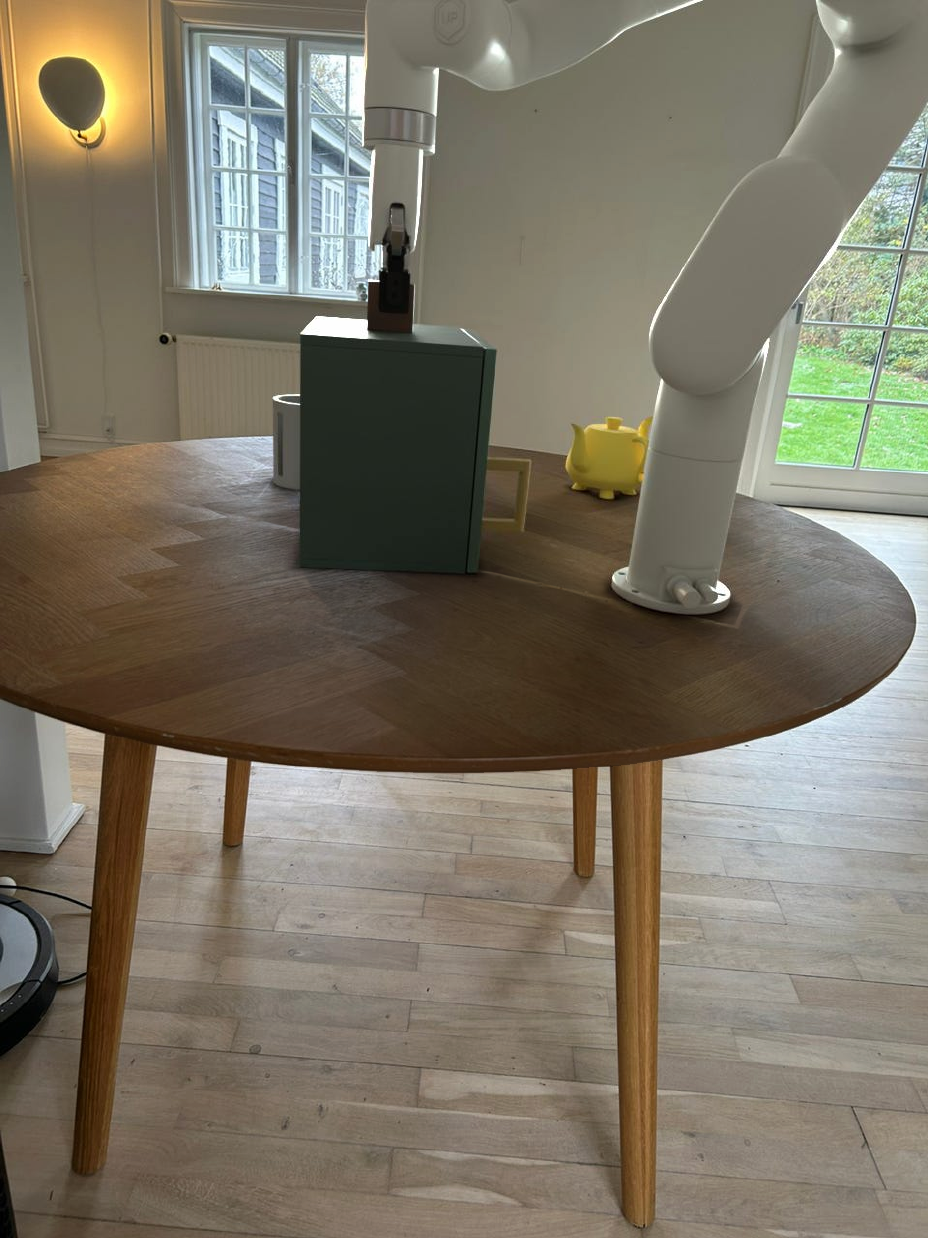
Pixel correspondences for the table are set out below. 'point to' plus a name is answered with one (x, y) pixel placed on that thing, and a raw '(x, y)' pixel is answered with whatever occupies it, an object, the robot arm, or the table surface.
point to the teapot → (608, 457)
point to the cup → (286, 441)
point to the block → (388, 320)
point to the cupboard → (387, 446)
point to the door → (491, 466)
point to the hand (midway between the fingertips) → (392, 310)
